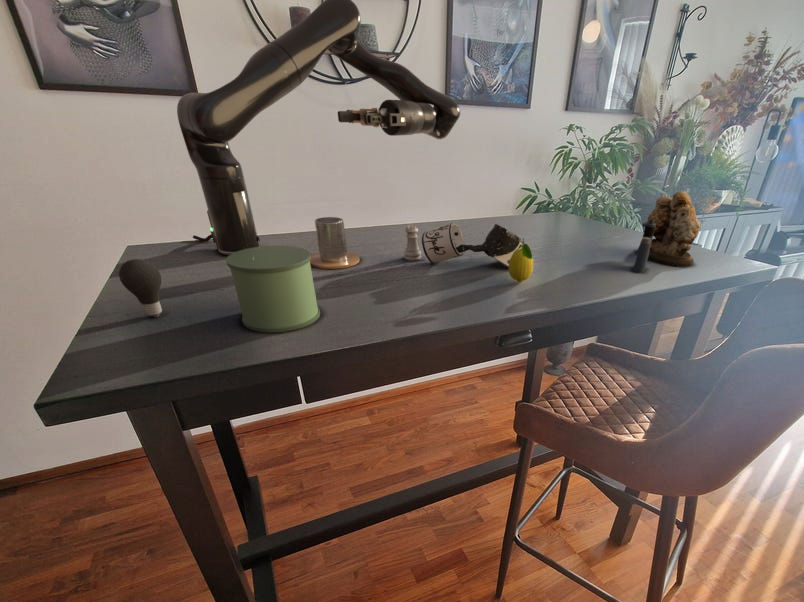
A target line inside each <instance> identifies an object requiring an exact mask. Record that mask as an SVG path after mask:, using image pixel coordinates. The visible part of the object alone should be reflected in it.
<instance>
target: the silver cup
mask: <svg viewBox="0 0 804 602" xmlns="http://www.w3.org/2000/svg"><path fill="white" fill-rule="evenodd" d="M314 226H315V233H316V237H317V238H316V239H317V245H318V252H319V253H320V259H321V260H322V261H324V262H331V263H334V262H342V261H345V260H347V259H348V254H347V252H348V246H347V240H346V229H345V222H344V219H343V218H341V217H337V216H326V217H325V216H324V217H317V218H315V219H314Z"/></svg>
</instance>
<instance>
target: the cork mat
mask: <svg viewBox="0 0 804 602" xmlns="http://www.w3.org/2000/svg"><path fill="white" fill-rule="evenodd" d="M347 254H348V259H347V260H345V261H342V262H334V263H331V262H324V261H322V260H321V259H320V252H319V253H316V254H312V255H311V260H310V266H311V267H314V268H318V269H324V270H325V269H326V270H336V269H338V270H339V269H345V268H349V267H353V266H355V265H357V264H359V263H360V259H361V258H360V256H359V255H358V254H355V253H353V252H349V251H347Z"/></svg>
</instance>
